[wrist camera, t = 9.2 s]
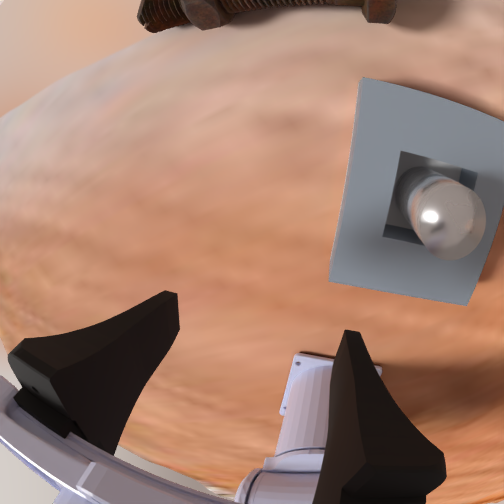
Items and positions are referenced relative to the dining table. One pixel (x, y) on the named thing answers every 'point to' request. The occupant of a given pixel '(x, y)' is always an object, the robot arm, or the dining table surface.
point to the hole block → (384, 182)
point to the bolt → (227, 3)
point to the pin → (441, 212)
